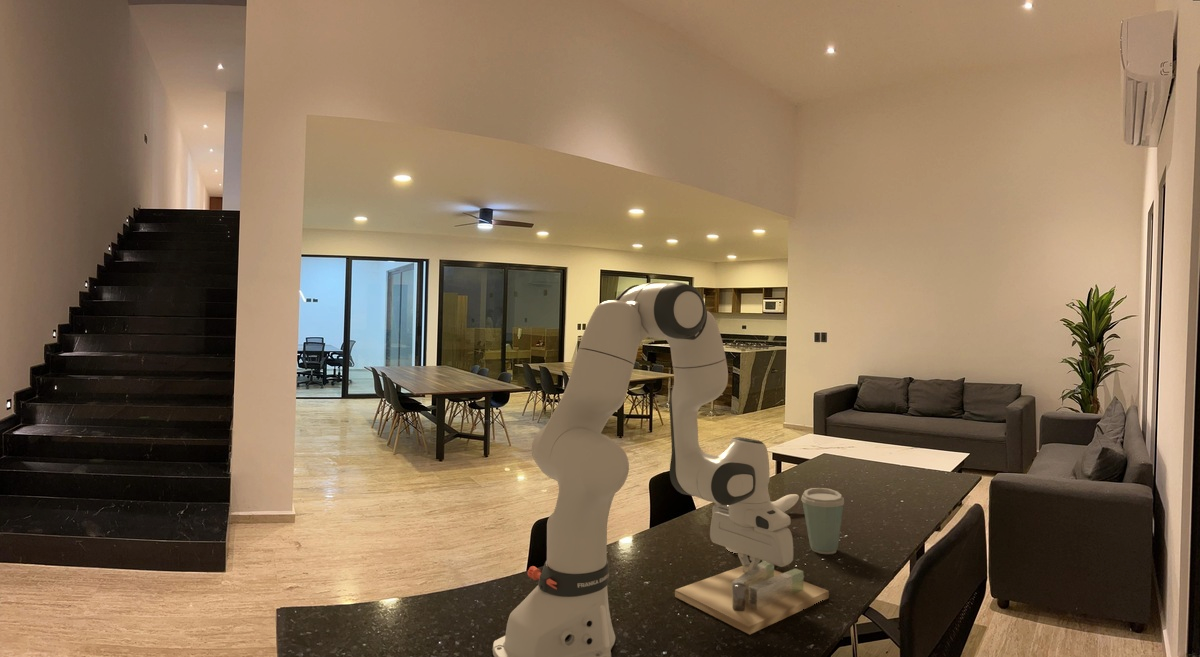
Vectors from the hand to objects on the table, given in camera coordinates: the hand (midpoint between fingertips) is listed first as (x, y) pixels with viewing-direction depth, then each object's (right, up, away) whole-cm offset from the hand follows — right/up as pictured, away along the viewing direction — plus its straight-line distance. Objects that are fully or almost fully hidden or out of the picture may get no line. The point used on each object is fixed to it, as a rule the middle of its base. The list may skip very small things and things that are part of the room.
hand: (749, 573), depth 134 cm
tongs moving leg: (0, -2, -6) cm, 6 cm away
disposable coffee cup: (+25, -4, +24) cm, 35 cm away
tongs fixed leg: (+4, -2, -8) cm, 9 cm away
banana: (+21, -4, +52) cm, 56 cm away
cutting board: (-1, -3, -4) cm, 5 cm away
